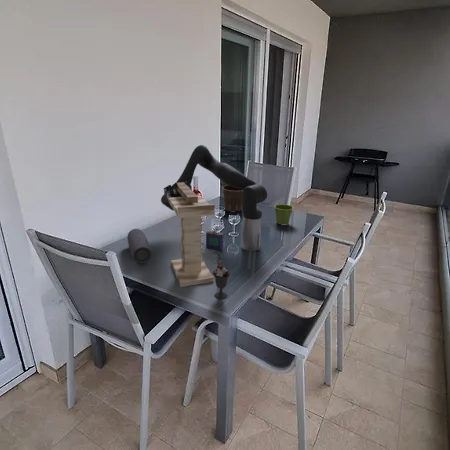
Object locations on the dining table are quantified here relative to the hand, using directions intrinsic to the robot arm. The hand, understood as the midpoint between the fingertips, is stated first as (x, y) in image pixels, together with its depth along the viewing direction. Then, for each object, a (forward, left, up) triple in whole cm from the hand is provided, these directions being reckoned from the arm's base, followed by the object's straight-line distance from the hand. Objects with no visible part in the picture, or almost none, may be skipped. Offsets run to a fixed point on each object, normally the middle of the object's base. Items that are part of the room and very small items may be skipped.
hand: (181, 184), depth 140 cm
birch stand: (-8, +14, -36) cm, 39 cm away
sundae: (-24, +28, -36) cm, 52 cm away
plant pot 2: (-47, -57, -36) cm, 82 cm away
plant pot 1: (-13, -76, -36) cm, 85 cm away
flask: (-13, -12, -36) cm, 40 cm away
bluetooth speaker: (+21, +3, -36) cm, 42 cm away
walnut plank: (-4, +7, -3) cm, 8 cm away
